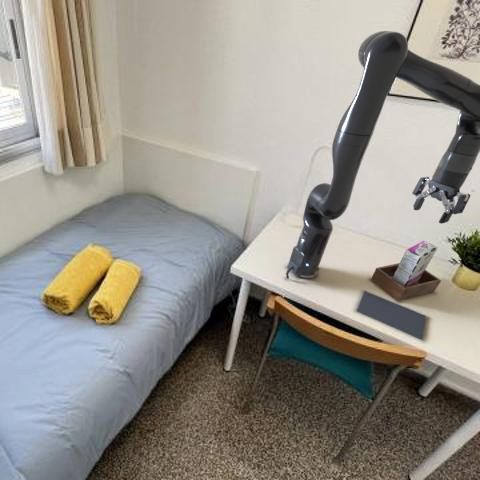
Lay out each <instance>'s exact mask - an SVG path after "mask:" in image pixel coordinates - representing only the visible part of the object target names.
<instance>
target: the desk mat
mask: <svg viewBox="0 0 480 480" xmlns="http://www.w3.org/2000/svg"><path fill="white" fill-rule="evenodd" d="M356 312H358V313H360V314H362V315H364V316H366V317H369V318H372V319H373V320H376V321H378V322H380V323H382V324H385V325H387V326H389V327H392V328H394V329H395V330H398V331H400V332H403V333H405V334H408V335H410V336H412V337H415V338H417V339H419V340H423V337H424V332H425V331H424V330H425V327H426V326H425V325H426V320H427V315H425V314H423V313H421V312H417V311H416V310H413V309H410V308H408V307H405V306H403V305H400V304H398V303H395V302H393V301H391V300H388V299H386V298H383V297H381V296H378V295H377V294H373V293H372V292H368V291H366V290H364V292H363V294H362V296H361V299H360V301H359V304H358V306H357V308H356Z"/></svg>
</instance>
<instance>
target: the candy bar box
mask: <svg viewBox="0 0 480 480" xmlns="http://www.w3.org/2000/svg"><path fill="white" fill-rule="evenodd" d="M438 248H439V247H438V246H436V245H434V244H432V243H430V242H427V241H426V240H422V241H420V242H418V243H416V244H415V245H413V246H410V247H409V248H407V249H406V250H405V252H404V254H403V256H402V258H401V260H400V262H399V263H400V264H399V266H398V268H397V270H396V272H395V274H394V276H393V277H391V278H393V279H394V280H395V281H397V282H398V283H400V284H401V285H402V286H404V287H409V286H413V285H417V284H419V283H418V282H419V280H420V278H421V276H422V275H423V273H424V271H425V270H427V268H428V266H429V264H430V262H431V260H432V259H433V257H434V255H435V253H436V252H437V250H438Z"/></svg>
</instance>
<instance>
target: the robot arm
mask: <svg viewBox="0 0 480 480" xmlns="http://www.w3.org/2000/svg"><path fill="white" fill-rule="evenodd" d="M357 57H358V58H357V59H358V62H359V64H360V65H361V67H362V68H363V71H362V72H363V73H362V76H361V79H360V83H359V85H358V89H357V92H356V94H355V96H354V98H353V99H352V100H351V102H350V104H349V105H348V107H347V109H346V110H345V112H344V113H343V115H342V117H341V118H340V120H339V123H338V125H337V128H336V131H335V134H334V136H333V139H332V143H331V156H332V157H331V159H332V178H331V183H329V182H321V183H319V184H317V185H315V186H314V187H313V188H312V189H311V191H310V192H309V194H308V197H307V199H306V203H305V206H304V211H303V216H302V228H301V230H300V233H299V236H298V240H297V242H296V245H295V246H293V248H292V251H291V254H290V257H289V260H288V262H287V270H286V274H285V278H286V279H287V280H289V279H290V276H289V274H290V272H291V273H292V274H293V275H294V276H295V277H296V278H302V279H312V278H315V277H316V276H317V273H318V271H319V270H320V269H319V267H320V264H321V262H322V260H323V256H324V253H325V251H326V248H327V245H328V243H329V241H330V238H331V236H332V232H333V230H334V227H333V223H332V221H335V220H337V219H339V218H340V217H341V216H343V214H344V213H345V212H346V211H347V208H348V206H349V204H350V201H351V198H352V193H353V190H354V186H355V183H356V180H357V176H358V173H359V170H360V167H361V165H362V162H363V160H364V156H365V154H366V152H367V149H368V147H369V145H370V142H371V140H372V137H373V134H374V132H375V130H376V126H377V123H378V121H379V118H380V116H381V114H382V110H383V107H384V105H385V102H386V99H387V96H388V94H389V92H390V91H391V88H392V86H393V85H394V82H395V80H396V79H398V80H401V81H402V82H405V83H406V84H408V85H410V86H412V87H413V88H416V89H417V90H418V91H420V92H421V93H422V94H425V95H427V96H428V97H430V98H432V99H434V100H435V101H438V102H439V103H441V104H443V105H445V106H447V107H450V108H454V109H456V110H458V111H459V114H458V118H457V122H456V127H455V133H454V135H453V137H452V138H451V140H450V142H449V144H448V147H447V149H446V151H445V152H444V153H443V155H442V156H441V158H440V160H439V162H438V165H437V167H436V168H435V170H434V173H433V175H432V176H431V179H430V177H429V176H423V177H420V178H419V180H418V181H417V182H416V185H415V187H414V189H413V190H412V192H411V193H412V195H413V196H415V197H416V199H415V201H414V203H413V205H412V207H413V210H414V211H419V210H421V208H422V206H423V204H424V203H425V201H426V198H428V197H431V198H432V199H435V200H437V201H439V202H441V203H442V205H443V207H444V211H443V213H442V215H441V217H440V219H439V220H438V223H439V224H441V225H443V224H445V223H448V222H450V220H451V217H452V216H453V215H459V214H463V212H464V210H465V208H466V207H467V204H468V203H469V200H470V198H471V194H470V193H463V192H461V188H462V186H463V185H464V183H465V181H466V180H467V178H468V176H469V174H470V173H471V171H472V169H473V167H474V165H475V163H476V161H477V158H478V156H479V154H480V84H478V83H477V82H476V81H474V80H472V79H471V78H469V77H468V76H466V75H463V74H462V73H460V72H458V71H455V70H454V69H452V68H450V67H447V66H445V65H442V64H440V63H437V62H434V61H432V60H429V59H427V58H424V57H422V56H420V55H418V54H417V53H416V52H415V53H414V52H413V51H411V50H410V49H409V42H408V39H407V38H406V36H405V35H404V34H402V33H401V32H398V31H392V30H380V31H375V32H374V33H372V34H370V35H369V36H367V37H366V38H364V40H363V41H362V42H361V44H360V46H359V48H358V53H357ZM427 185H428V189H427V190H425V191H424V189H425V187H426V186H427ZM455 197H457V198H456V200H455Z"/></svg>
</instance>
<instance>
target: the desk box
mask: <svg viewBox="0 0 480 480" xmlns="http://www.w3.org/2000/svg"><path fill="white" fill-rule="evenodd" d="M399 264H400V262H398V263H393V264H388V265H384V266H379V267H378V266H377V267H376V268H375V270H374V272H373V273H372V275H371V278H370V281H371V282H372V283H374V284H375V285H376V286H378V288H380V289H381V290H383V291H384V292H385V293H386V294H388V295H389V296H390V297H391V298H393V299H394V300H395V301H396V302H402V301H406V300H409V299H410V300H411V299H414V298H418V297H422V296H426V295H429V294H434V293H435V291H437V288H438V287H439V285H440V284H441V282H442V279H440V278H439V277H437V276H436V275H434V274H433V273H432V272H430V271H428V270H427V269H425V271H424V273H423V275H422V276H421V278H420V280H419V282H418V283H417V285H413V286H409V287H404V286H402V285H401V284H400V283H398V282H397V281H395V280H394V279H393V278H392V277H393V276H394V274H395V272H396V270H397V268H398V266H399Z"/></svg>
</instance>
